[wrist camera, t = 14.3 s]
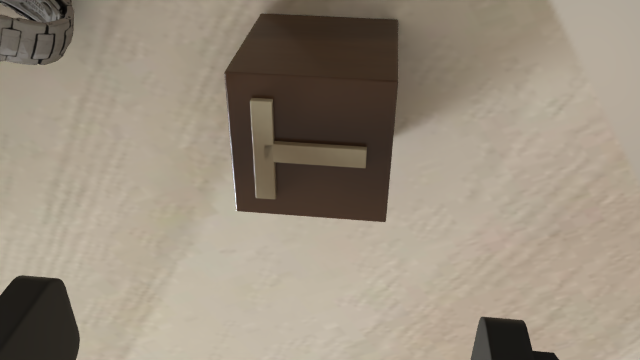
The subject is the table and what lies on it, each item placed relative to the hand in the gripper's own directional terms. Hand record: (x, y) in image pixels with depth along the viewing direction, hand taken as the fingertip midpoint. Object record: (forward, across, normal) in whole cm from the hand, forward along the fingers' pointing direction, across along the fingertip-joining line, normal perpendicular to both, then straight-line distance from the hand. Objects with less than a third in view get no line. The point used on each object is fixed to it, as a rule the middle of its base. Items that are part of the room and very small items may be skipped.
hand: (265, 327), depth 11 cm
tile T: (+12, 0, 0) cm, 12 cm away
